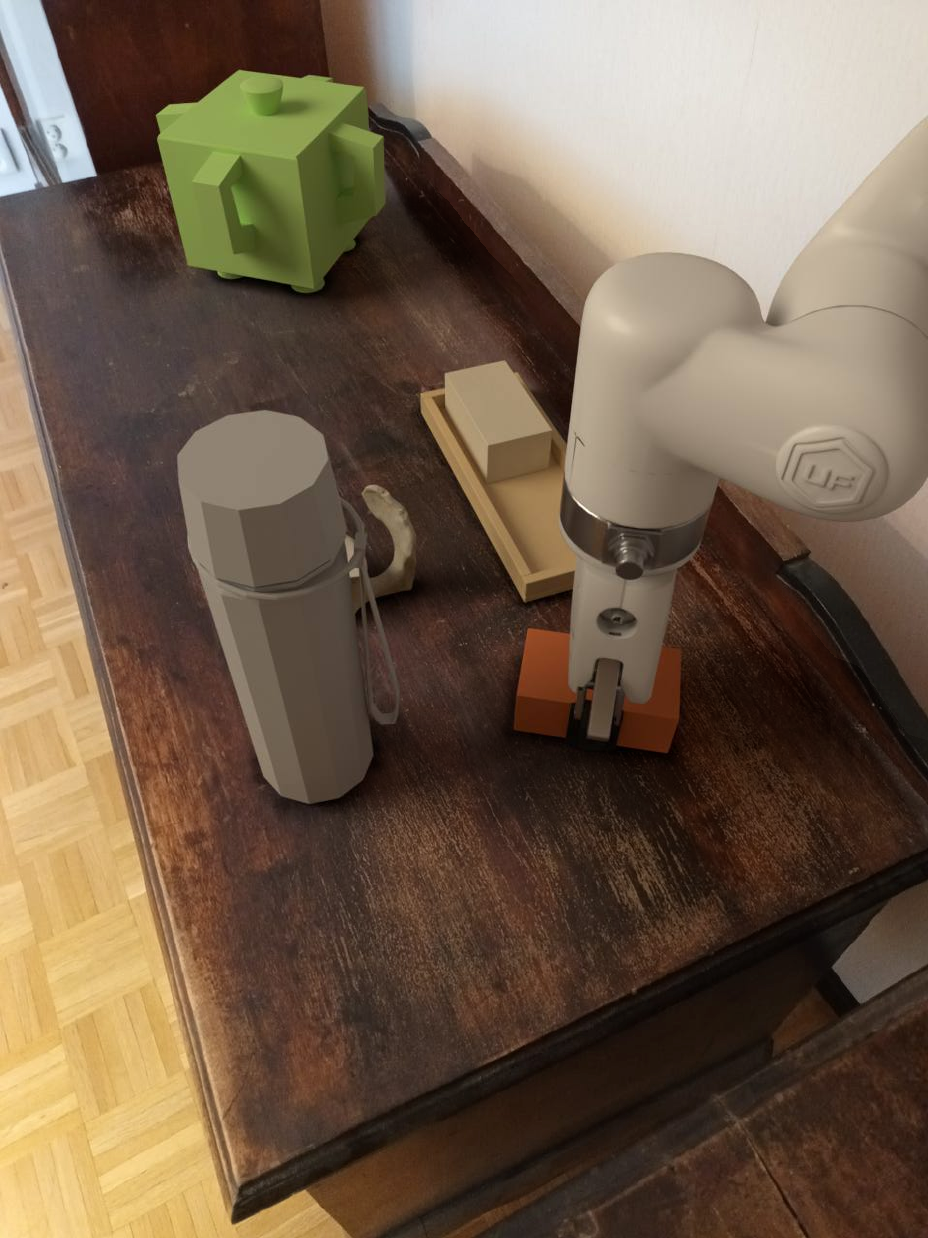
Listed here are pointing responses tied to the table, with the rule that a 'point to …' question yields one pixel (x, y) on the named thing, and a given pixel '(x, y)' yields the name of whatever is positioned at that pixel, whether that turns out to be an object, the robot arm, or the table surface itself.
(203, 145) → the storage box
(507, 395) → the cream rectangular block
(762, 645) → the table surface
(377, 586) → the bone
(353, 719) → the water bottle
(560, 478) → the wooden tray
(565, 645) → the orange angular block
